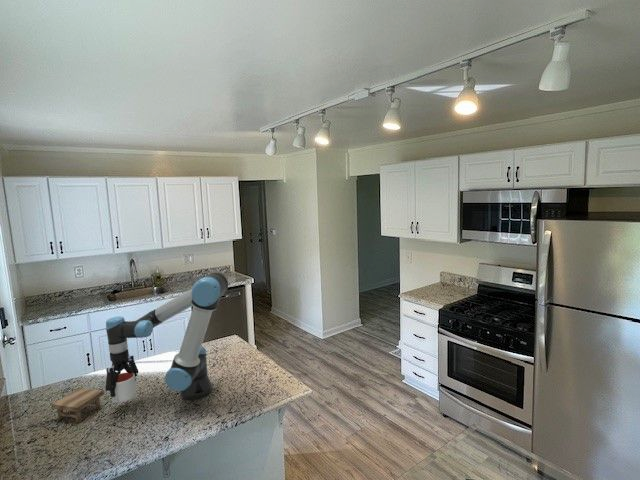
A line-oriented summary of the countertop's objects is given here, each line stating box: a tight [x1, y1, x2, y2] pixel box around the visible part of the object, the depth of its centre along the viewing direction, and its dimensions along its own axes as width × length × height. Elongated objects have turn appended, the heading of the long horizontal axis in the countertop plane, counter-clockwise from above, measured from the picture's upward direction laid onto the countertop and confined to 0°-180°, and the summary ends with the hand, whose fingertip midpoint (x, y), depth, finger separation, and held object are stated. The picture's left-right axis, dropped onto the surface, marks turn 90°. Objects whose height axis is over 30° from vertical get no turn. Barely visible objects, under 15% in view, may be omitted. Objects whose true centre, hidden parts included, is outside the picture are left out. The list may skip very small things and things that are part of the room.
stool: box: [51, 387, 105, 424], centre depth 161 cm, size 14×14×8 cm
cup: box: [112, 372, 138, 403], centre depth 164 cm, size 10×10×10 cm
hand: (124, 395), depth 164 cm, fingers closed on cup, 10 cm apart
